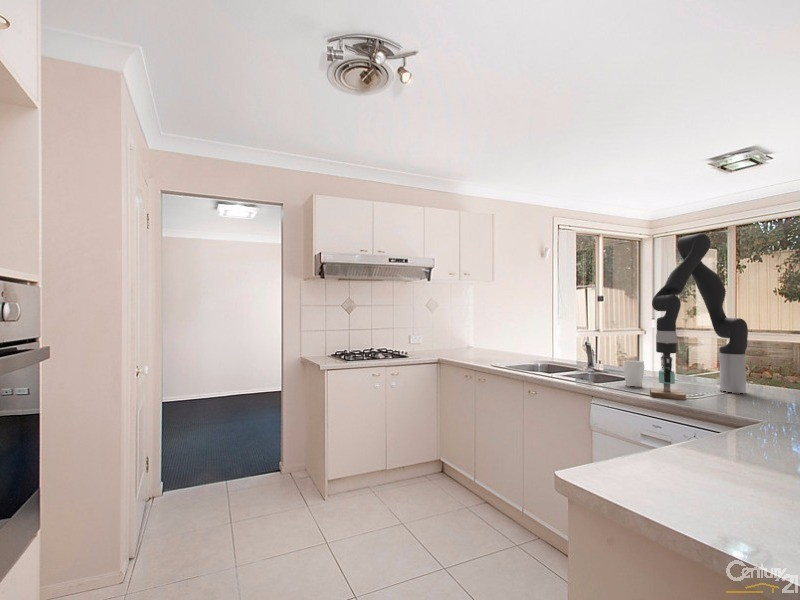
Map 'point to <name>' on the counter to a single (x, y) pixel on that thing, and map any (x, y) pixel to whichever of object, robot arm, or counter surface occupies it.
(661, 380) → the cap
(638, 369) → the cup
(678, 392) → the stud block
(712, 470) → the counter surface
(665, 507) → the counter surface
